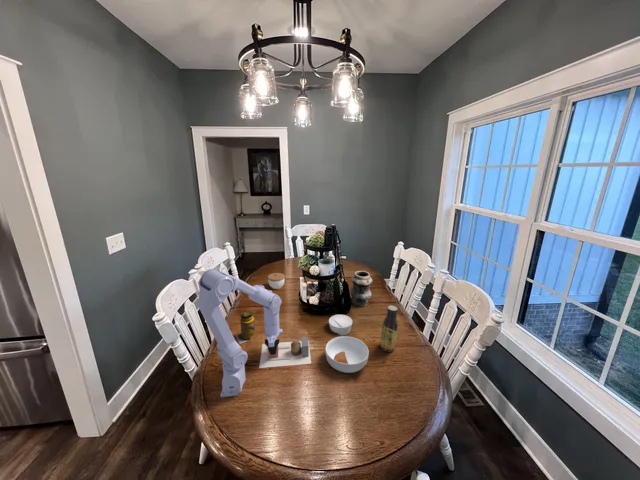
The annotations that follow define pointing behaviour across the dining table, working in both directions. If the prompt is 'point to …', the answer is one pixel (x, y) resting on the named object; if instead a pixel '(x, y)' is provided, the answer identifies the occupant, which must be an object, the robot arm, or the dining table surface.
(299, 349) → the walnut
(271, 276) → the lidded jar
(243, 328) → the condiment
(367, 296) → the apothecary jar
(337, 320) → the ramekin
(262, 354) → the press base
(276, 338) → the pinkish red block
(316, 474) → the dining table surface
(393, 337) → the sauce bottle
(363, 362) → the cereal bowl
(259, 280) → the dining table surface
